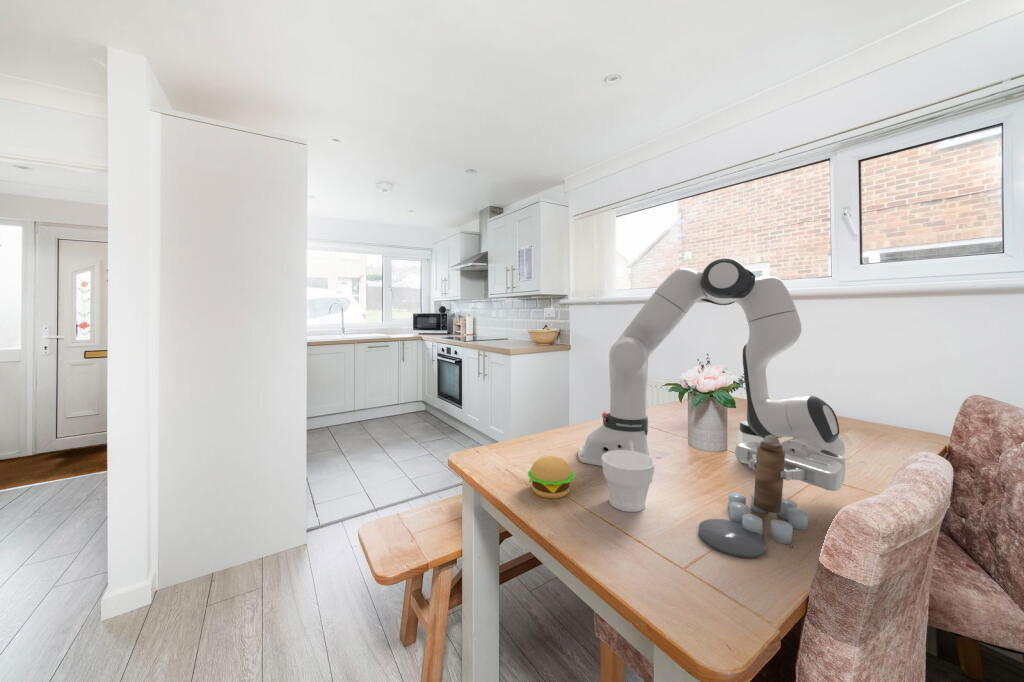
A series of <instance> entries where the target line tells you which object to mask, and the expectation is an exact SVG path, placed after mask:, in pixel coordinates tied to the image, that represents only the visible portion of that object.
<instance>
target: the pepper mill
mask: <svg viewBox="0 0 1024 682" xmlns="http://www.w3.org/2000/svg"><path fill="white" fill-rule="evenodd" d="M779 439H780V438H777V437H775V436H773V435H768V436H766V437H765V438H764V439H763V441H761V442H760V446H758V447H757V459H756V469H755V479H754V491H753V493H754V506H755V507H757V508H758V509H760V510H763V511H766V512H768V513H770V514H771V513H772V514H777V513H779V512H781V504H782V499H783V489H784V487H783V486H784V479H782V478H780V475H781V474H780V472H781V470H783V469H784V461H785V451H784V450H782V448H783V446H782V445H781V444H780V443H781V442H780V440H779Z"/></svg>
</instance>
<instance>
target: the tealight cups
mask: <svg viewBox="0 0 1024 682" xmlns="http://www.w3.org/2000/svg"><path fill="white" fill-rule="evenodd" d="M727 497H728V499H727V508H728V509H729V519H730V521H734V522H737V523H740V524H742V527H743V528H745V529H746V530H748V531H751V532H756V533H759V534H760V535H761V536H762V537H763V523H764V521H763V519H762V518H761V517H759V516H757V515H754V514H751V513H750V512H749V511H750V509H751V510H752V511H754V512H756V513H759V514H768V513H769V512H766V511H763V510H760V509H758V508H757V507H755V506H754V492H752V493H750V499H749V500H750V503H749V506H748V505H747V497H746V495H744V494H742V493H739V492H729V493H728V495H727ZM776 514H777V516H778V517H780V518H782V519H786V521H785V520H782V519H772V520H771V521H770V538H771V539H773V540H774V541H776V542H778V543H781V544H785V545H790V544H793V543H792V542H793V532H794V530H793V529H795V530H796V529H797V530H800V531H806V530H808V528H809V513H808V512H807V511H805V510H803V509H801V508H798V504H797V503H796V502H794V501H793V500H790V499H785V498H782V504H781V512H779V513H776Z"/></svg>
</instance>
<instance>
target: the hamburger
mask: <svg viewBox="0 0 1024 682" xmlns="http://www.w3.org/2000/svg"><path fill="white" fill-rule="evenodd" d="M527 477H528V478H529V479H528V480H529V481H528V483H529V484H530V485H531V490H532V491H533V493H535V494H536V495H538V496H539V497H541V498H544V499H560V498H563V497H566V496H567V495H569V492H570V491H571V484H572V483H574V482H573V480H574V479H575V473H574V472H573V470H572V468H571V467H570V465H569V463H568V462H566V461H565V460H564V459H563V458H561V457H558V456H553V455H546V456H543V457H539V458H538V459H537V460H536V461H534V462H533V464H532V466H531V468H530V469H529V471H527Z"/></svg>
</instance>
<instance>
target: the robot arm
mask: <svg viewBox="0 0 1024 682" xmlns="http://www.w3.org/2000/svg"><path fill="white" fill-rule="evenodd" d="M698 301H702V302H708V303H711V304H714V305H716V306H717V305H718V306H727V305H732V304H734V303H737V304H738V305H739V306H740V307H741V308H742V310H743V312H744V314H745V318H746V322H747V325H748V331H749V335H748V339H747V343H746V344H744V346H743V349H742V367H743V376H744V385H745V392H746V393H745V394H746V420H747V422H748V425H749V427H750V429H751V430H752V431H753V432H755V433H756V434H757V435H759V436H760V437H762V438H765V437H766V436H768V435H773V436H775V437H777V438H778V439H781V438H790V439H786V440H784V441H781V442H780V444H781V445H782V446H783V448H782V450H784V451H785V461H784V469H783V470H781V472H780V474H781V475H780V478H782V479H783V480H785V481H788V482H789V481H791V480H792V481H799V482H802V483H803V482H804V483H806V484H808V485H812V486H815V487H818V488H820V489H823V490H826V491H832V492H836V491H837V492H838V491H839V490H840V489H841V488H842V487H843V485H844V483H845V482H844V481H845V477H846V459H845V454H846V446H845V444H844V441H843V440H842V438H841V437H840V436H839V434H840V426H839V420H838V418H837V416H836V413H835V410H834V409H833V408H832V407H831V406H830V405H829V404H828V403H826V402H825V401H824V400H823V399H821V398H819V397H817V396H815V395H807V396H798V397H797V396H796V397H790V398H782V399H774V400H772V399H770V397H769V390H768V381H767V372H766V371H767V366H768V364H769V363H770V362H771V361H772V360H773V359H774V358H776V357H777V356H779V355H780V354H782V353H784V352H785V351H787V350H788V349H790V348H791V347H792V346H793V345H794V344H795V343H796V342H797V341H798V340H799V338H800V336H801V334H802V323H801V319H800V316H799V313H798V310H797V308H796V305H795V302H794V300H793V298H792V295H791V293H790V292H789V290H788V288H787V286H786V284H784V282H783V281H782V280H781V279H780V278H778V277H776V276H771V275H768V276H767V275H765V276H760V277H756V275H755V273H754V272H753V271H751V270H750V269H749V268H747V267H746V266H745V265H743V264H742V263H741V262H740V261H737V260H735V259H733V258H728V257H722V258H718V259H715V260H713V261H712V262H710V263H709V264H708V265H706V266H705V268H704V270H703V272H698V271H695V270H694V269H691V268H688V267H680V268H677V269H676V270H674V271H673V272H672V273H671V274H670V275H669V276H667V278H665V280H663V281H662V283H661V284H660V285H659V286H658V287H657V288H656V289H655V290H654V292H653V293H652V295H650V298H649V299H648V300H647V301H646V302H645V304H644V305H643V306H642V307H641V309H640V310H639V311H638V312H637V314H636V316H635V317H634V318H633V319H632V321H631V322H630V323H629V325H628V326H627V327H626V329H624V331H623V333H621V335H620V336H619V337H618V338H617V340H616V341H615V342H614V344H613V345H612V346H611V347H610V350H609V354H608V355H609V356H608V357H609V358H608V359H609V360H608V361H609V368H608V369H609V398H610V399H609V412H607V411H603V412H602V414H601V417H602V425H600V426H599V427H597V428H595V429H594V430H593V431H591V432H590V433H589V434H588V435H587V436H586V439H585V442H584V445H583V446H581V447H580V448H579V449H578V451H577V459H578V461H579V462H581V463H584V464H588V465H593V466H599V467H603V466H602V458H601V457H602V455H603V454H604V453H606V452H609V451H614V450H628V451H635V452H639V453H642V454H645V455H647V456H649V457H651V455H650V453H649V452H650V451H649V446H648V437H647V436H648V432H649V417H648V415H647V411H648V410H647V409H648V408H647V407H648V406H647V405H648V377H649V376H648V375H649V374H648V372H649V358H650V356H651V355H652V354H654V352H655V351H656V350H657V348H658V347H659V346H660V345H661V344H662V343H663V342H664V341H665V340H666V338H667V337H668V336H670V334H671V333H672V332H673V330H674V329H675V328H676V327H677V325H679V323H680V321H681V320H682V319H683V318H684V317H685V316H686V314H688V312H689V310H691V309H692V307H693V306H694V304H696V303H697V302H698ZM758 446H760V443H759V442H744V443H739V444H738V443H736V444H735V448H734V457H735V458H736V459H737V460H739V461H740V460H742V461H745V462H747V463H749V465H748V467H749V468H751V469H753V470H756V459H757V447H758Z"/></svg>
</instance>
